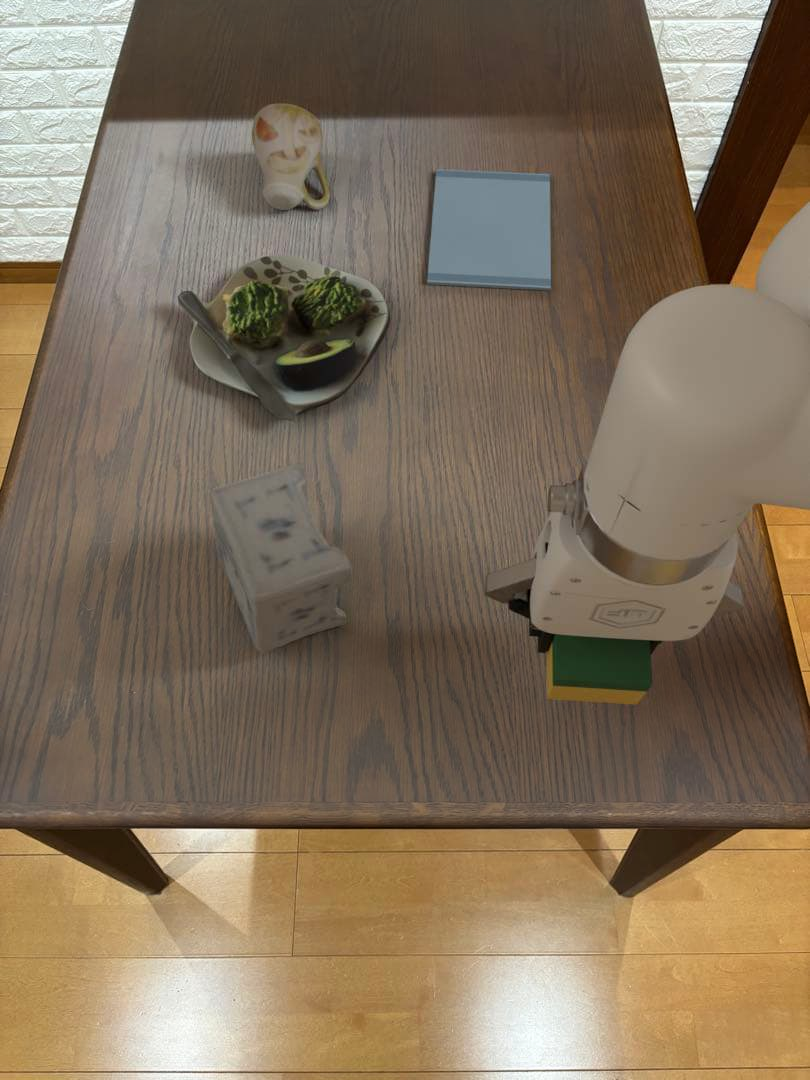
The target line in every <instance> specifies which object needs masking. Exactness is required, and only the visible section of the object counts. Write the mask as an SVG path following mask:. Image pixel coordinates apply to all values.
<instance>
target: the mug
mask: <svg viewBox="0 0 810 1080" xmlns="http://www.w3.org/2000/svg"><path fill="white" fill-rule="evenodd" d="M251 139H252V146H253V149H254V152H255V155H256V158H257V162H258V163H259V166H260V169H261V173H262V178H263V180H262V181H263V183H262V184H263V185H262V196H263V199H264V201H266V203H267V204H268V205H269V206H271V207H272V208H274V209H276V210H280V211H288V210H292V209H294V208H295V207H297V206H299V204H301V202H302V201H303V203H304V204H305V205H306V206H307V207H308V208H310V209H311V210H314V211H318V210H321V209H323V208H325V207H326V206H327V205H328V204H329V202H330V198H331V193H330V188H329V185H328V181H327V179H326V176H325V172H324V167H323V164H322V163H323V161H322V156H321V150H322V146H323V131H322V126H321V123H320V122H319V120H318V118H317V117H316V116H315V115H314V114H313V113H311V112H310V111H309V110H307V109H305V108H303V107H301V106H298V105H295V104H292V103H285V102H283V103H270V104H268V105H265V106H264V107H262V108H260V109H259V111H258V112H257V113H256V114H255V116H254V120H253V124H252V129H251ZM312 170H313V171H315V174H316V175H315V176H316V177H317V179H318V181H319V184H320V186H321V190H322V193H323V195H322V198H320V199H314V198H312V197H311V196H310V194H309V193H308V189H307V187H306V184H305V181H306V180H307V177H308V176H309V174H310V173H311V171H312Z"/></svg>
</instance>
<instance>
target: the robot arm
mask: <svg viewBox="0 0 810 1080" xmlns="http://www.w3.org/2000/svg"><path fill="white" fill-rule="evenodd" d="M755 277H756V278H755V289H751V288H747V287H744V286H738V285H729V284H706V285H699V286H694V287H690V288H686V289H683V290H680V291H677V292H675V293H673V294H671V295H668V296H666V297H664V298H663V299H661V300H659V302H657V303H655V304H654V305H653V306H651V307H650V308H649V309H648V310H646V312H645V313H643V315H642V316H641V317H640V318H639V320H638V321H637V322H636V324H635V325H634V327H633V328H632V329H631V331H630V332H629V334H628V336H627V337H626V341H625V343H624V345H623V348H622V350H621V352H620V356H619V358H618V362H617V365H616V368H615V372H614V375H613V378H612V381H611V385H610V388H609V392H608V395H607V398H606V401H605V405H604V408H603V412H602V415H601V418H600V421H599V424H598V428H597V431H596V434H595V437H594V440H593V445H592V447H591V450H590V454H589V457H588V460H587V462H586V464H582V465H581V467H580V471H579V475H578V478H577V480H576V479H575V480H572V481H571V483H567V482H566V483H564V485H552V484H551V485H549V488H548V494H547V495H548V496H547V511H548V513H550V514H549V515H548V517H547V519H546V521H545V523H544V524H543V527H542V529H541V532H540V533H539V536H538V538H537V541H536V543H535V545H534V548H533V552H532V555H531V559H528V560H525V561H522V562H519V563H517V564H513V565H511V566H507V567H505V568H502V569H499V570H496V571H493V572H491V573H488V574H485V586H484V587H485V589H484V594H485V595H484V596H486V597H488V598H490V599H492V600H495V601H496V602H498V603H500V604H502V605H503V604H507V605H508V610H509V611H511V612H513V613H515V614H517V615H520V616H522V617H524V618H526V619H528V636H529V637H537V653H538V654H547V651H549V648H550V646H551V643H552V640H553V638H554V635H555V634H560V635H571V636H586V637H601V638H618V639H636V640H650V653H651V655H653V653H654V652H655V650H656V649H657V648H658V646H659V645H661V644H663V642H673V641H675V642H676V641H684V640H689V639H692V638H693V637H695V636H697V635H698V634H699V633H700V632H701V631H703V629H704V628H705V627H706V626H707V624H708V623H709V622H710V621H711V619H712V617H713V616H715V617H717V616H721V615H725V614H730V613H735V612H738V611H742V610H743V609H745V604H744V603H745V602H744V597H743V589H742V588H741V586H739V585H737V584H736V583H735V582H734V581H732V580H730V579H731V576H732V573H733V570H734V567H735V563H736V559H737V555H738V549H739V548H738V547H739V538H738V533H737V529H738V528H739V527H740V525H741V523H742V522H743V520H744V519H745V518H746V516H747V515H748V513H749V512H750V511H751V509H752V508H753V507H754V505H755V504H759V505H767V506H774V507H775V506H776V507H781V508H782V507H784V508H792V509H800V510H805V511H810V201H808V202H807V203H806V204H805V205H803V207H802V208H801V209H799V210H798V211H797V212H796V213H795V214H794V215H793V217H792V218H790V219H789V221H788V222H787V223H786V224H785V225H783V227H782V228H781V229H780V230H779V231H778V233H777V234H776V235H775V236H774V238H773V239H772V241H771V243H770V244H769V246H768V247H767V249H766V250H765V252H764V254H763V256H762V258H761V261H760V263H759V265H758V269H757V273H756V276H755Z"/></svg>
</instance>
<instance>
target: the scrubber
mask: <svg viewBox="0 0 810 1080" xmlns="http://www.w3.org/2000/svg"><path fill="white" fill-rule="evenodd" d="M652 686H653V672H652V654H651V653H650V640H636V639H618V638H601V637H586V636H571V635H560V634H555V635H554V638H553V640H552V643H551V646H550V648H549V651H546V699H547V700H559V701H573V702H574V701H575V702H590V703H604V704H619V705H638V704H639V702H640V701H641V700H642V699H643V698H644V696H645V695H646V694H647V692H648V691H649V690H650V688H651V687H652Z"/></svg>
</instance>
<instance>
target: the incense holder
mask: <svg viewBox="0 0 810 1080" xmlns="http://www.w3.org/2000/svg"><path fill="white" fill-rule="evenodd" d="M309 480H310V479H309V476H308V473H307V472H306V469H305V467H304V465H303V464H302V463H301V462H298V463H294V464H290V465H286V466H282V467H279V468H276V469H274V470H270V471H267V472H263V473H259V474H256V475H253V476H250V477H248V478H244V479H240V480H236V481H234V482H232V483H228V484H224V485H221V486H217V487H216V486H215V487H213V488H211V489H210V492H209V502H210V509H211V515H212V519H213V520H212V523H213V529H214V537H215V539H214V540H215V549H216V554H217V557H218V560H219V563H220V566H221V567H222V569H223V571H224V574H225V575H226V578H227V580H228V583H229V585H230V588H231V590H232V592H233V595H234V597H235V600H236V603H237V605H238V608H239V610H240V612H241V615H242V617H243V620H244V623H245V626H246V628H247V631H248V633H249V636H250V639H251V641H252V644H253V646H254V648H255V649H256V650H257V651H258V652H259V653H260V654H267V653H269V652H272V651H273V650H275V649H279V648H280V647H283V646H286V645H288V644H290V643H292V642H294V641H299V640H300V639H302V638H305V637H307V636H311V635H314V634H317V633H321V632H324V631H326V630H330V629H334V628H337V627H342V626H345V625H347V622H348V616H347V613H346V612H345V611H344V610H343V609H341V608H340V607H338V605H337V602H338V599H339V598H338V590H339V589H340V587H341V586H343V585H345V584H347V583H349V582H350V580H351V578H352V565H351V562H350V560H349V558H348V556H347V554H346V553H345V552H344V551H342V550H341V549H340V548H339V547H338V546H331V545H330V544H329V543H328V542H327V540H326V538H325V537H324V535H323V534H322V532H321V530H320V527H319V525H318V522H317V520H316V518H315V517H314V514H313V513H314V512H313V511H312V509H311V506H310V504H309V503H308V501H307V499H306V497H305V495H304V493H303V487H304V485H306V484H307V482H309Z"/></svg>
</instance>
